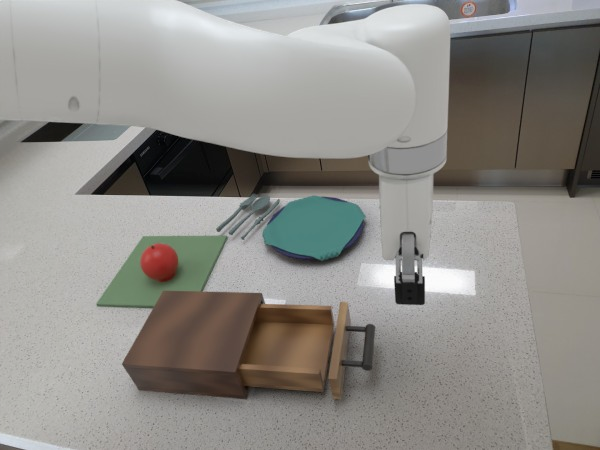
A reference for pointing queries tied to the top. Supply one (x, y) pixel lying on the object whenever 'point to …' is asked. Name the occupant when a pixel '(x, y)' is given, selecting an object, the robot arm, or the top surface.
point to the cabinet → (194, 343)
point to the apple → (159, 262)
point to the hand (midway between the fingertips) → (410, 275)
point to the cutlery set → (306, 226)
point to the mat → (189, 277)
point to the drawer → (301, 348)
